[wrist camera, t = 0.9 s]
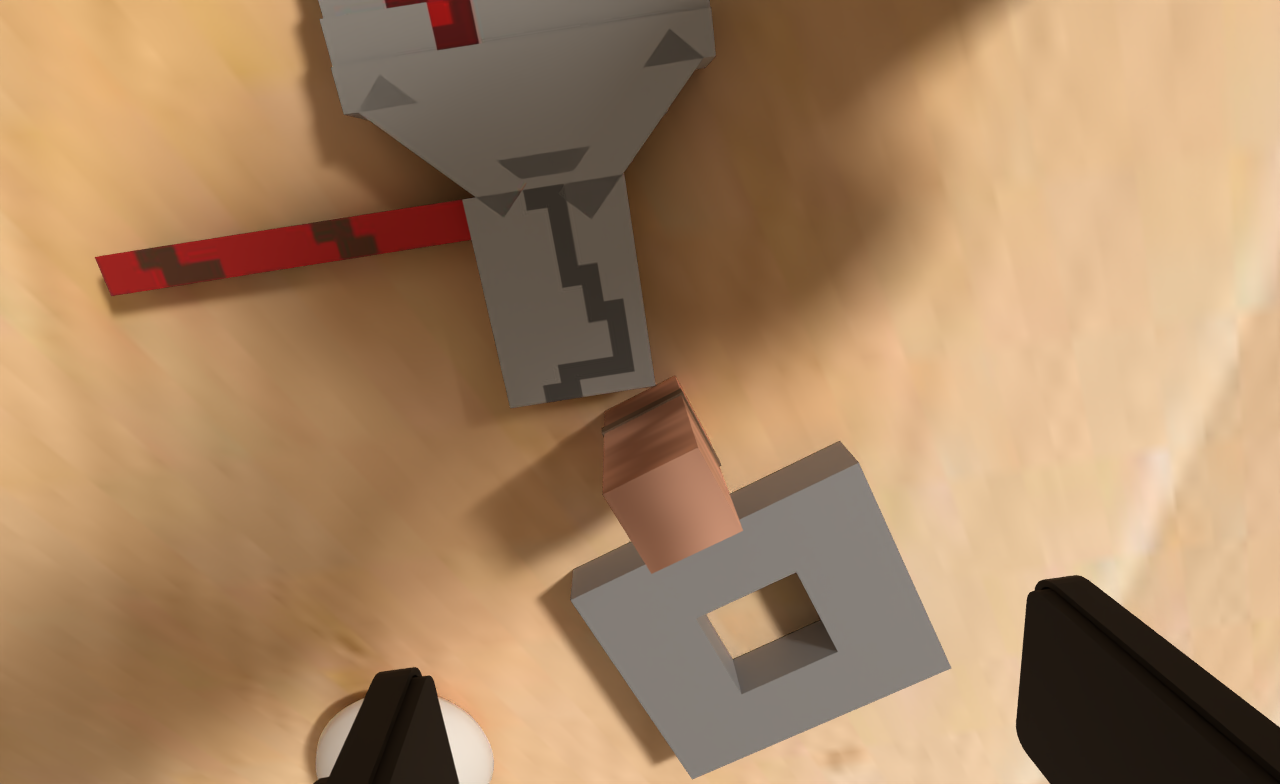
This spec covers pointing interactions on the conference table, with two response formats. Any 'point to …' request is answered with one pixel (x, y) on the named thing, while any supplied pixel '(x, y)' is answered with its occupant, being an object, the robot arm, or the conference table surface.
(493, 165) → the grey and red axe
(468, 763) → the flower in vase
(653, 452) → the peg
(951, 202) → the conference table surface
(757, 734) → the board
